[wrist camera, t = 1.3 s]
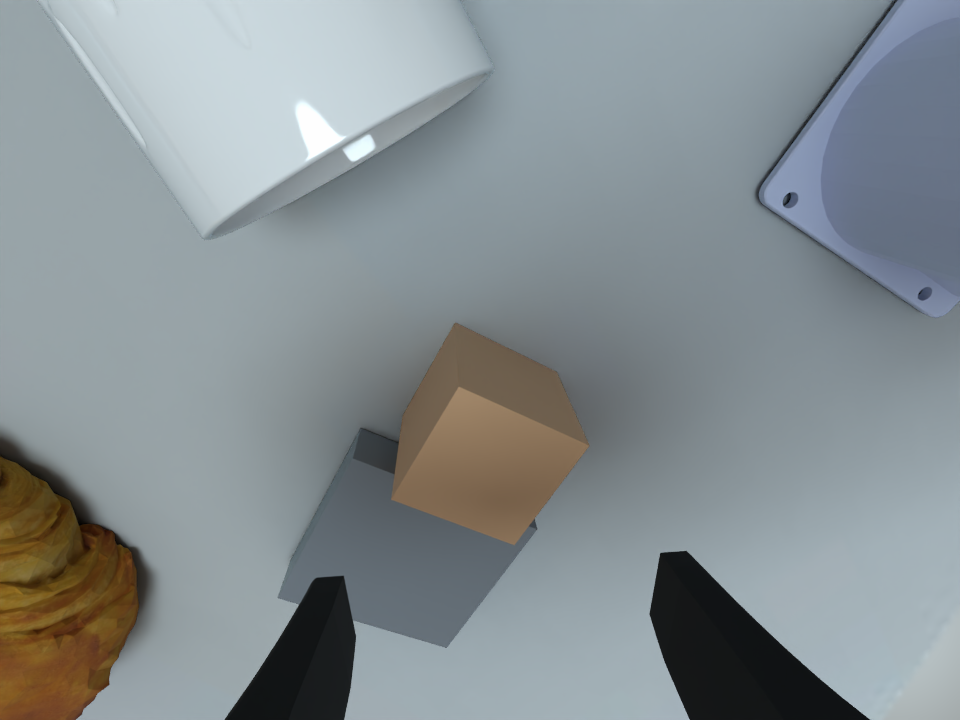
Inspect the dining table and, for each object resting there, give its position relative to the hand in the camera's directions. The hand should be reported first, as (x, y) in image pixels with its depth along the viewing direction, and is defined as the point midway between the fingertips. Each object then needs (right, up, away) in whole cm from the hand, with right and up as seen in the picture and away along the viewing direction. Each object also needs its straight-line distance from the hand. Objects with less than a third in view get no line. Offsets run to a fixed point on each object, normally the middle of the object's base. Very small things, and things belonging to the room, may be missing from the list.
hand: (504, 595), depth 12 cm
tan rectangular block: (-1, +4, +8) cm, 9 cm away
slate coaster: (-4, -2, +11) cm, 12 cm away
